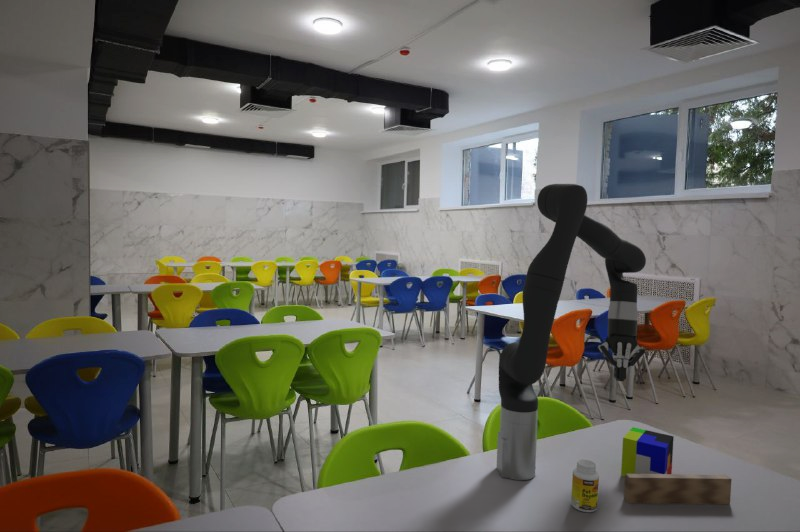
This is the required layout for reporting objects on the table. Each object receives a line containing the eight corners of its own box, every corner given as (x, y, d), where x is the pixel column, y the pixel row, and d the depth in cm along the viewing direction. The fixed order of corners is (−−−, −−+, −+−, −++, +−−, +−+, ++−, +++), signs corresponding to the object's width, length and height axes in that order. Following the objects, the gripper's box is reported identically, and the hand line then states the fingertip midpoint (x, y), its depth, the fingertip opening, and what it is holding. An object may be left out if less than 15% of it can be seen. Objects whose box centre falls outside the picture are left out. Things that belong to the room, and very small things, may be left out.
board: (628, 503, 120) (629, 477, 120) (624, 498, 122) (625, 473, 122) (729, 504, 121) (731, 478, 121) (724, 499, 123) (725, 474, 123)
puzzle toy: (663, 487, 129) (665, 447, 128) (621, 475, 135) (623, 437, 134) (671, 473, 137) (673, 436, 136) (630, 463, 143) (632, 427, 142)
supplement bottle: (580, 514, 115) (582, 469, 114) (566, 502, 120) (568, 458, 119) (602, 512, 116) (604, 467, 115) (588, 500, 121) (590, 456, 121)
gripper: (603, 316, 143) (601, 380, 141) (652, 320, 143) (650, 384, 141) (594, 316, 150) (591, 377, 149) (640, 320, 150) (637, 381, 148)
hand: (619, 380), depth 145 cm, fingers closed
